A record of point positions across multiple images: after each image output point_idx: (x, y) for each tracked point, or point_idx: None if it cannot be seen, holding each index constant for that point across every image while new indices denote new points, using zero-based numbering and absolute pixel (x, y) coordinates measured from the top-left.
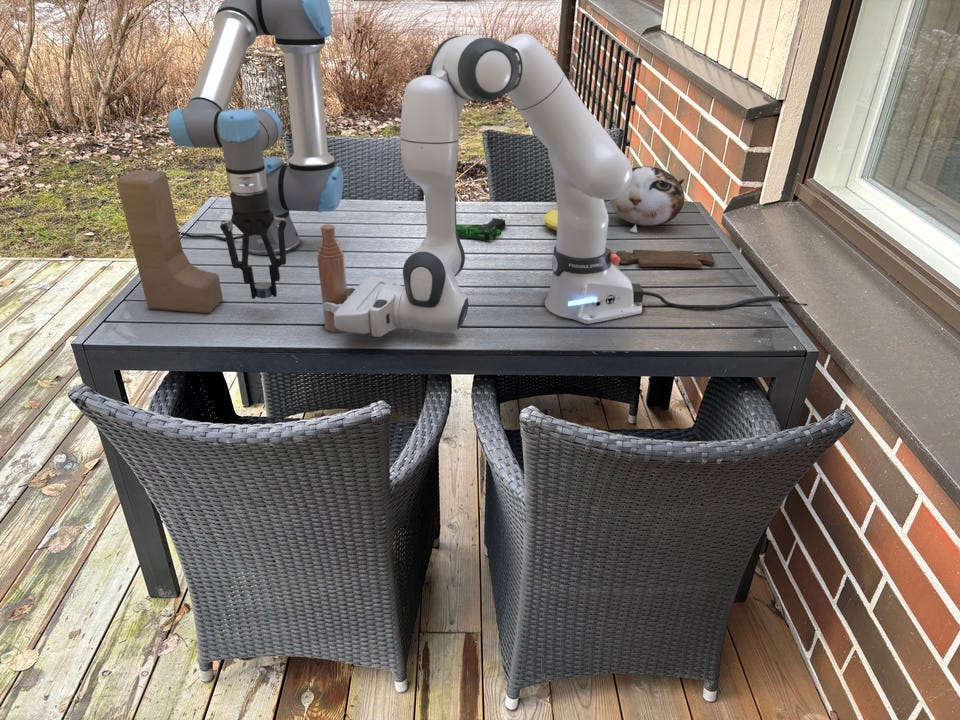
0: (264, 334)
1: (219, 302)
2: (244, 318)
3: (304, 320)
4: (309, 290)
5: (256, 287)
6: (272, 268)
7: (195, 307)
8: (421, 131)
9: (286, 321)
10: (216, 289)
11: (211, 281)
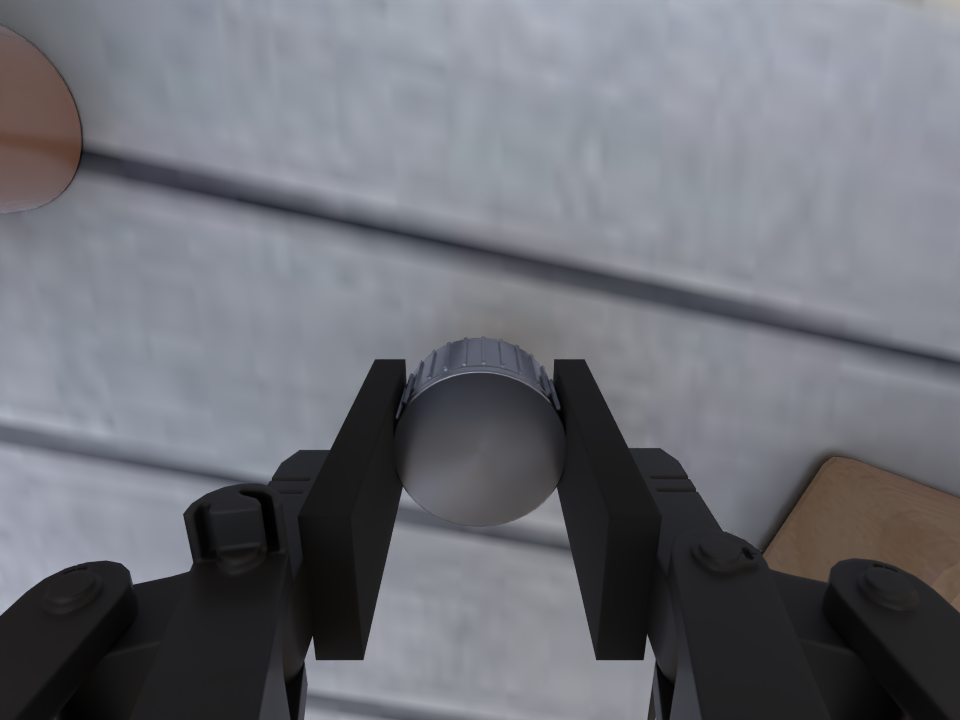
0: (499, 99)
1: None
2: (623, 363)
3: (241, 259)
4: None
5: (543, 415)
6: (305, 542)
7: (924, 492)
8: None
9: (359, 269)
10: None
11: None
